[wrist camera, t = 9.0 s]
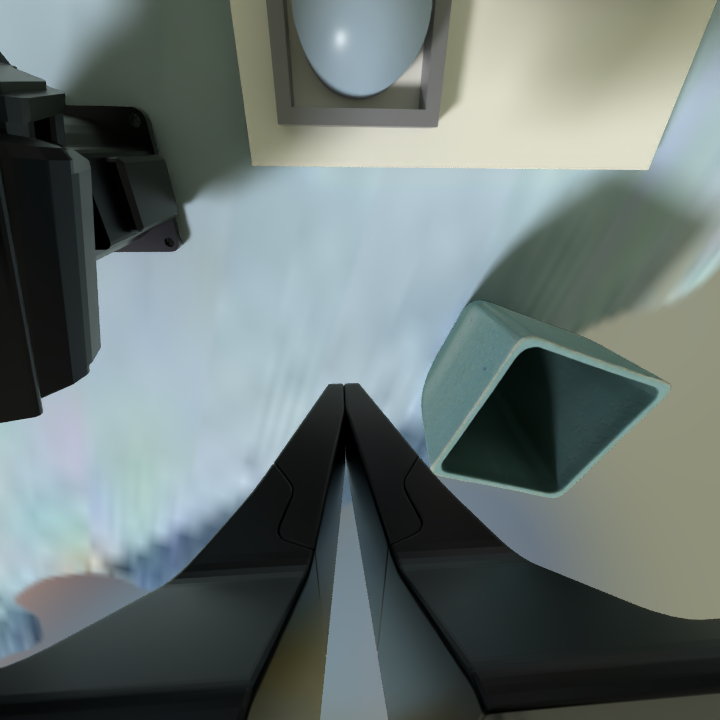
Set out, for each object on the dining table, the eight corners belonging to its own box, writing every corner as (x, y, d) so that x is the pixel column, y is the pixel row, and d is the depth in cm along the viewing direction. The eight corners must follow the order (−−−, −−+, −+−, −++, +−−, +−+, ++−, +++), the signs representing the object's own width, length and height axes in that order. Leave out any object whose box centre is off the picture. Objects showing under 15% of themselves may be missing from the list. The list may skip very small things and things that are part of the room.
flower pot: (568, 308, 23) (681, 387, 16) (497, 403, 28) (559, 502, 20) (457, 265, 21) (526, 333, 14) (399, 375, 25) (427, 474, 18)
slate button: (302, 98, 15) (297, 90, 13) (292, -70, 12) (283, -115, 10) (411, 100, 15) (424, 93, 13) (423, -64, 13) (442, -105, 10)
